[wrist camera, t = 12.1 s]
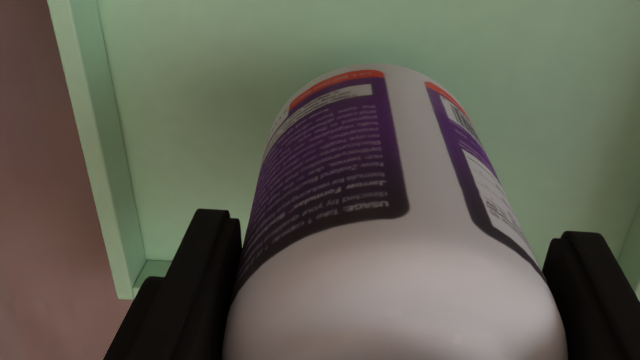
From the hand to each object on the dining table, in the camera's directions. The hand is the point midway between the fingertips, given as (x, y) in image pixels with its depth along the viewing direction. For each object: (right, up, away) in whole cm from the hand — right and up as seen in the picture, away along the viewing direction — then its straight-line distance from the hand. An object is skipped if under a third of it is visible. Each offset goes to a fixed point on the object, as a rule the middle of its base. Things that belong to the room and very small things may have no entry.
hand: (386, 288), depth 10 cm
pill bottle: (0, +3, +4) cm, 5 cm away
